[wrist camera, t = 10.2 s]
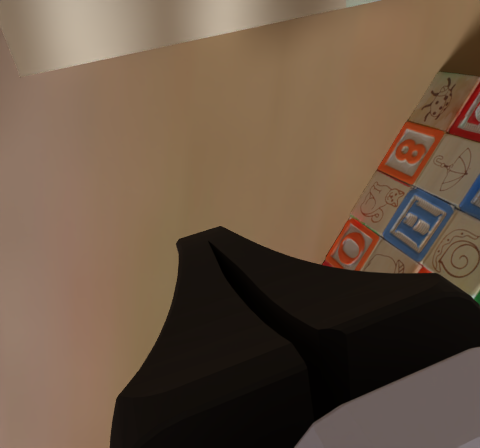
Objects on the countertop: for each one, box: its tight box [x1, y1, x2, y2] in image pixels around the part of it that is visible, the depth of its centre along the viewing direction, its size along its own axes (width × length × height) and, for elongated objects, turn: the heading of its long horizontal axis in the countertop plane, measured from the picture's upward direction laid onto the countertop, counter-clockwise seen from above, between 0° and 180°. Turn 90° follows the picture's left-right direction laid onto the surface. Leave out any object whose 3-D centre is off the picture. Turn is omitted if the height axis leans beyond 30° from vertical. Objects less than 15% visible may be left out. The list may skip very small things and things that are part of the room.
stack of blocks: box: [322, 72, 480, 305], centre depth 22 cm, size 21×6×12 cm, turn 150°
